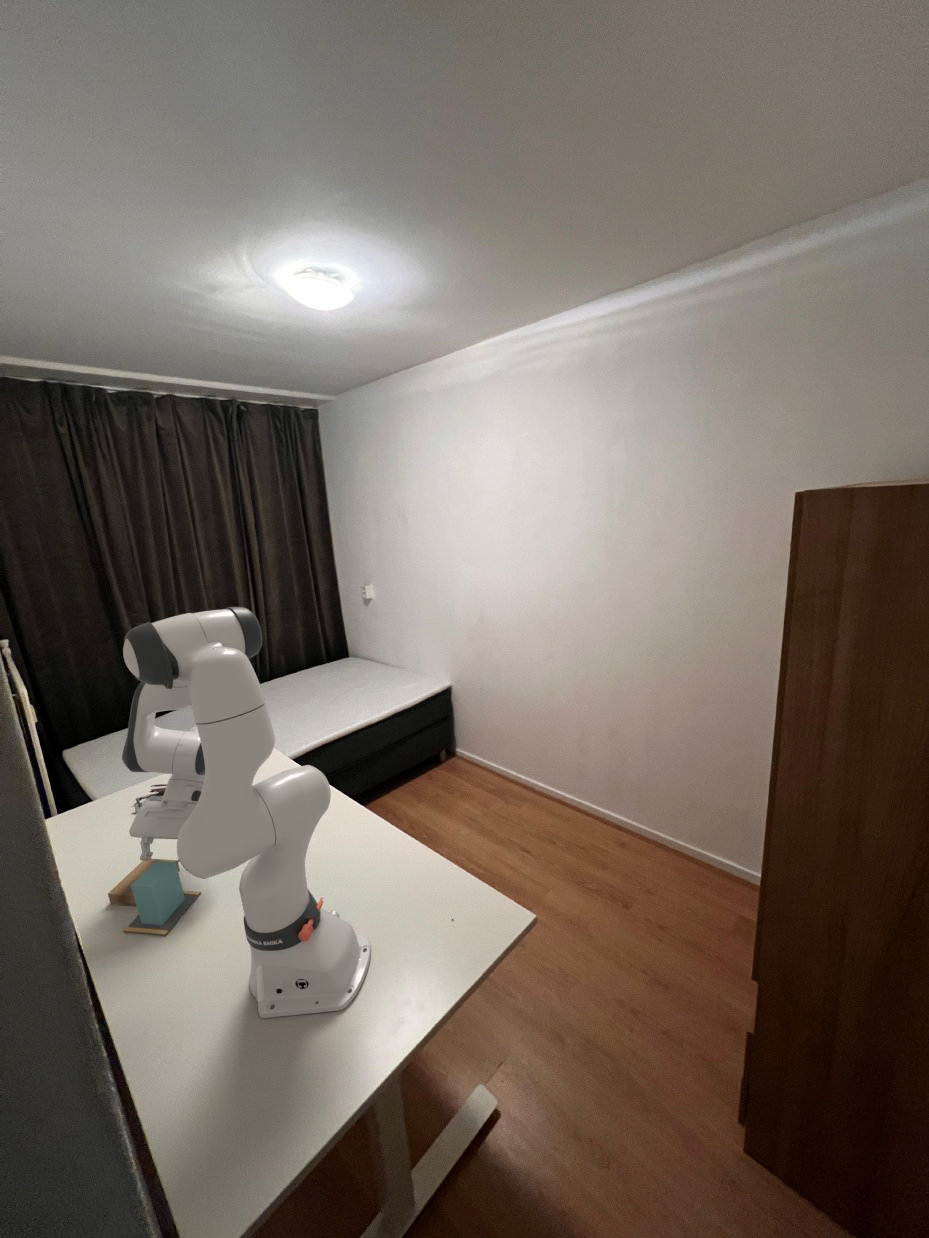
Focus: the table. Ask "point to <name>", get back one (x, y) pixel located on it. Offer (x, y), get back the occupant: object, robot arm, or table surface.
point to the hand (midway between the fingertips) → (163, 861)
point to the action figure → (160, 790)
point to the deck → (123, 890)
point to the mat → (164, 929)
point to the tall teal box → (158, 892)
